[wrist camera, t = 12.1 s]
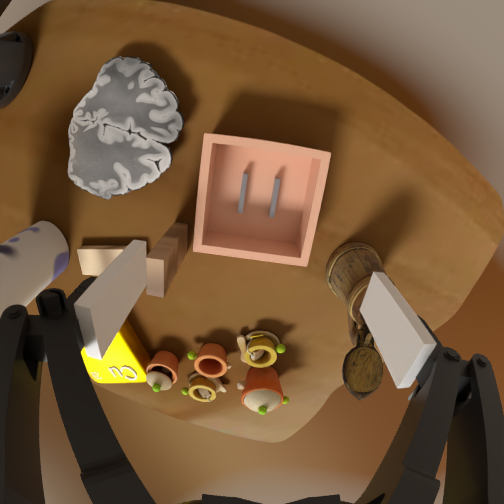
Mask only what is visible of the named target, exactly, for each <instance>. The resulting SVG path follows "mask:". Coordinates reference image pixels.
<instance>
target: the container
mask: <svg viewBox="0 0 504 504" xmlns="http://www.w3.org/2000/svg"><path fill="white" fill-rule="evenodd" d="M68 262H69V249H68V245H67V242H66V240H65V238H64V236H63V234H62V233H61V231H60V230H59V229H58V228H57V227H56V226H55V225H54V224H52V223H50V222H48V221H39V222H37V223H35V224H34V225H32V226H30V227H29V228H27V229H25V230H23V231H22V232H20V233H18V234H17V235H15V236H13V237H12V238H10V239H9V240H7V241H5V242H4V243H2V244H1V245H0V318H1V315H2V313H3V311H4V310H5V309H6V308H7V307H9V306H11V305H16V304H19V305H23V306H25V307H26V306H27V305H28V304H29V303H30V302H31V301H32V300H33V299H34V298H35V297H36V296H37V295H38V294H39V293H40V292H41V291H42V290H43V289H44V288H45V287H46V286H47V285H48V284H49V283H51V282H52V281H53V280H54V279H55V278H56V277H57V276H58V275H59V274H60V273H62V272H63V271H64V270H65V269H66V267H67V265H68Z"/></svg>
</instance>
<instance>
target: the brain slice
mask: <svg viewBox="0 0 504 504" xmlns="http://www.w3.org/2000/svg"><path fill="white" fill-rule="evenodd" d="M178 107H179V101H178V99H177V97H176V96H175V94H174V93H173V92H172V91H170V90H168V87H167V85H166V83H165V81H164V80H163V79H162V78H161V77H160V76H159V75H158V74H157V72H155V71H154V70H153V69H152V66H151V65H150V64H149V63H147V62H144V61H142V60H141V59H140V58H137V57H126V58H123V57H121V56H120V57H115V58H112V59H110V60H109V61H107V62H106V63H105V64H104V65H103V66H102V68H101V71H100V72H99V74H98V76H97V80H96V82H95V84H94V85H93V87H92V89H91V90H90V91H89V92H88V93H87V94H86V95H85V96H84V97H83V99H82V100H81V102H80V103H78V105H77V106H76V108H75V109H74V112H73V118H72V119H71V123H70V125H69V129H68V136H69V147H70V158H69V162H68V176H69V178H70V179H71V180H72V181H73V182H74V184H76V185H77V186H78V187H80V188H81V189H83V190H86V191H88V192H90V193H92V194H94V195H96V196H98V197H103V198H104V199H110V198H111V197H112V195H115V196H117V195H124V194H127V193H128V192H130V190H138V189H141V188H142V187H144V186H145V185H147V184H148V183H153V182H154V181H156V180H157V179H158V178H159V177H160V176H161V174H162V173H163V172H165V171H166V170H167V169H168V168H169V167H170V165H171V164H172V160H173V158H172V153H171V150H170V149H169V148H168V147H167V146H166V145H164V144H162V143H170V142H173V141H175V140H177V138H178V137H179V135H180V130H181V129H182V128H183V126H184V118H183V115H182V114H181V112H180V111H178ZM161 142H162V143H161Z"/></svg>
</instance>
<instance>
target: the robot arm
mask: <svg viewBox="0 0 504 504" xmlns="http://www.w3.org/2000/svg"><path fill="white" fill-rule="evenodd" d="M11 1H12V0H0V16H1V15H2V13H3V12H4V11H5V9H6V7H7V6H8V5H9V3H10V2H11ZM31 60H32V42H31V39H30V37H29V36H28V35H27V34H25V33H22V32H18V31H11V32H6V33H2V34H0V109H2V108H4V107H6V106H7V105H8V104H10V103H11V102H12V101H13V99H14V98H15V97H16V96H17V94H18V93H19V91H20V89H21V88H22V86H23V84H24V82H25V79H26V77H27V74H28V71H29V68H30V65H31ZM146 285H147V265H146V241H140V240H133V241H132V242H131V243H130V244H129V245H128V246H127V247H126V248H125V249H124V250H123V251H122V252H121V253H120V254H119V255H118V256H117V257H116V258H115V259H114V260H113V261H112V263H111V264H110V265H109V266H108V267H107V268H106V269H105V270H104V271H103V272H102V273H101V274H100V275H99V276H98V277H93V276H92V277H90V278H88V279H86V280H84V281H83V282H82V283H81V284H80V285H79V286H78V288H76V289H75V290H74V292H72V294H71V295H70V296H69V297H68V298H67V299H66V296H65V293H64V291H62V290H61V289H57V288H51V289H47V290H44V291H42V292H40V293H39V294H38V295H37V297H36V303H37V307H38V310H39V314H40V315H28V312H27V309H26V307H25V306H23V305H19V304H16V305H11V306H9V307H7V308H6V309H5V310H4V311H3V313H2V315H1V318H0V504H45V498H44V491H43V484H42V475H41V465H40V448H39V399H40V385H41V373H42V363H43V362H48V367H49V371H50V376H51V380H52V385H53V389H54V393H55V397H56V400H57V404H58V407H59V411H60V414H61V417H62V420H63V424H64V427H65V429H66V432H67V435H68V438H69V441H70V444H71V446H72V449H73V452H74V454H75V457H76V459H77V462H78V464H79V467H80V469H81V474H80V475H81V479H82V482H83V484H84V486H85V488H86V491H87V493H88V495H89V497H90V499H91V501H92V503H93V504H156V503H155V501H154V500H153V499H152V497H151V496H150V494H149V493H148V491H147V490H146V488H145V487H144V485H143V484H142V482H141V480H140V479H139V477H138V475H137V474H136V472H135V470H134V469H133V467H132V465H131V464H130V462H129V461H128V459H127V457H126V455H125V454H124V452H123V450H122V448H121V446H120V444H119V442H118V440H117V438H116V437H115V434H114V433H113V431H112V429H111V426H110V424H109V422H108V420H107V418H106V416H105V413H104V411H103V409H102V407H101V404H100V402H99V400H98V398H97V395H96V392H95V390H94V387H93V385H92V382H91V380H90V377H89V374H88V372H87V369H86V366H85V363H84V360H83V357H82V354H81V351H82V349H83V348H84V347H85V350H86V354H87V356H89V357H92V358H96V359H99V360H103V358H104V356H105V354H106V352H107V351H108V349H109V347H110V345H111V344H112V342H113V340H114V338H115V336H116V335H117V333H118V331H119V330H120V328H121V326H122V324H123V323H124V321H125V319H126V318H127V316H128V314H129V313H130V311H131V309H132V308H133V306H134V304H135V303H136V301H137V299H138V298H139V296H140V295H141V293H142V291H143V290H144V288H145V287H146ZM360 312H361V314H362V316H363V318H364V320H365V322H366V324H367V326H368V328H369V330H370V332H371V334H372V336H373V338H374V340H375V342H376V344H377V346H378V348H379V350H380V352H381V354H382V356H383V359H384V361H385V362H386V365H387V367H388V369H389V371H390V374H391V376H392V378H393V380H394V382H395V385H396V387H397V388H406V387H410V386H411V384H412V383H413V381H414V380H415V378H416V379H417V382H418V385H417V387H416V388H415V390H414V391H413V392H412V394H411V395H410V396H409V398H408V400H410V399H411V400H410V403H409V406H408V408H407V410H406V413H405V415H404V417H403V419H402V422H401V424H400V426H399V428H398V431H397V433H396V435H395V437H394V439H393V441H392V443H391V445H390V447H389V449H388V451H387V453H386V455H385V457H384V459H383V461H382V462H381V464H380V466H379V468H378V470H377V472H376V473H375V475H374V477H373V478H372V480H371V482H370V483H369V485H368V487H367V488H366V490H365V491H364V493H363V494H362V496H361V497H360V498H359V499H358V500H357V501H356V502H355V503H354V504H433V503H434V501H435V498H436V496H437V493H438V491H439V487H440V481H439V480H437V479H435V476H436V473H437V470H438V467H439V464H440V461H441V458H442V454H443V451H444V448H445V444H446V441H447V465H446V477H445V487H444V496H443V504H504V415H503V410H502V405H501V401H500V396H499V392H498V387H497V384H496V380H495V376H494V372H493V369H492V366H491V363H490V361H489V360H488V359H487V357H485V356H484V355H481V354H474V355H473V357H472V358H471V360H470V361H465V360H461V357H460V355H459V354H458V353H457V352H456V351H455V350H453V349H452V348H449V347H443V346H442V344H441V343H440V342H439V340H438V339H437V337H436V336H435V334H434V333H432V330H431V329H430V328H429V326H428V325H427V323H426V322H425V321H424V320H423V319H422V318H421V317H419V316H418V315H416V314H415V312H414V311H413V310H412V308H411V307H410V305H409V304H408V303H407V301H406V300H405V299H404V298H403V296H402V295H401V294H400V292H399V291H398V290H397V288H396V287H395V286H394V285H393V283H392V282H391V281H390V280H389V278H388V277H387V276H386V274H385V273H382V272H374V271H373V274H372V277H371V280H370V283H369V286H368V288H367V291H366V294H365V297H364V299H363V302H362V305H361V307H360ZM470 397H471V398H470ZM179 504H261V503H257V502H252V501H249V500H244V499H241V498H236V497H225V496H214V495H206V494H202V500H193V501H188V502H183V503H179ZM286 504H353V503H349V502H344V501H340V495H339V494H338V495H329V496H321V497H308V498H305V499H302V500H298V501H294V502H290V503H286Z"/></svg>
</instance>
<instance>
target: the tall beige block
mask: <svg viewBox="0 0 504 504" xmlns="http://www.w3.org/2000/svg"><path fill="white" fill-rule="evenodd" d="M187 240H188V224H187V223H179V222H174V224H173V225H172V226H171V227H170V228H169V230H168V231H167V232H166V233H165V234H164V236H163V237H162V238H161V239H160V240H159V242H158V243H157V244H156V245H155V247H154V248H153V249H152V250H151V252H150V253H149V254H148V255H147V257H146V265H147V294H148V295H154V296H159V297H164V296H165V294H166V292H167V290H168V288H169V286H170V284H171V282H172V280H173V278H174V277H175V275H176V273H177V271H178V269H179V267H180V265H181V263H182V261H183V259H184V257H185V255H186V254H187Z"/></svg>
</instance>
